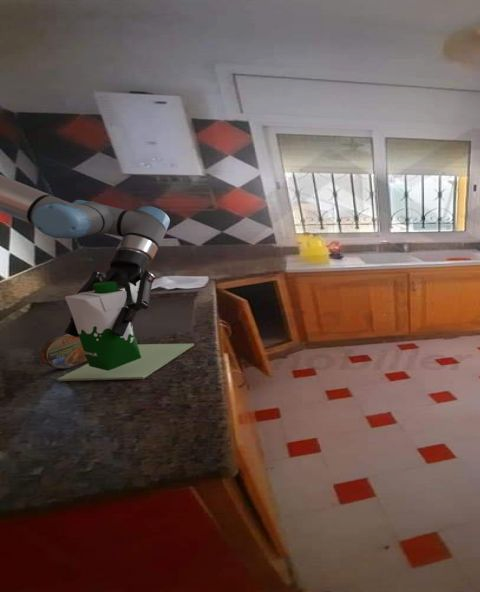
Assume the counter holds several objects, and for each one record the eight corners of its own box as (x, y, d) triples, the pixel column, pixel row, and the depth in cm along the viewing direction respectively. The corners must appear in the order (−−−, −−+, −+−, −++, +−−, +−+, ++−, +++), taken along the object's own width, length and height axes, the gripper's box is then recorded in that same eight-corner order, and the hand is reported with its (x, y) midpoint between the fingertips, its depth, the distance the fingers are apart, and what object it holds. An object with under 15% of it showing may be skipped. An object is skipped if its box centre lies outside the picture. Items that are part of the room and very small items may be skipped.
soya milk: (147, 356, 82) (128, 282, 76) (105, 373, 74) (79, 291, 68) (125, 352, 84) (104, 279, 79) (81, 367, 76) (55, 288, 71)
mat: (57, 381, 77) (57, 378, 77) (126, 346, 97) (125, 344, 96) (143, 379, 79) (143, 376, 79) (194, 345, 98) (194, 343, 98)
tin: (53, 374, 80) (42, 344, 78) (43, 373, 81) (32, 343, 79) (118, 349, 95) (110, 323, 92) (109, 348, 95) (102, 322, 93)
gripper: (185, 264, 88) (154, 339, 77) (102, 264, 87) (59, 340, 76) (167, 248, 82) (131, 327, 71) (78, 247, 80) (26, 328, 70)
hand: (94, 334), depth 74 cm, fingers closed on soya milk, 9 cm apart
